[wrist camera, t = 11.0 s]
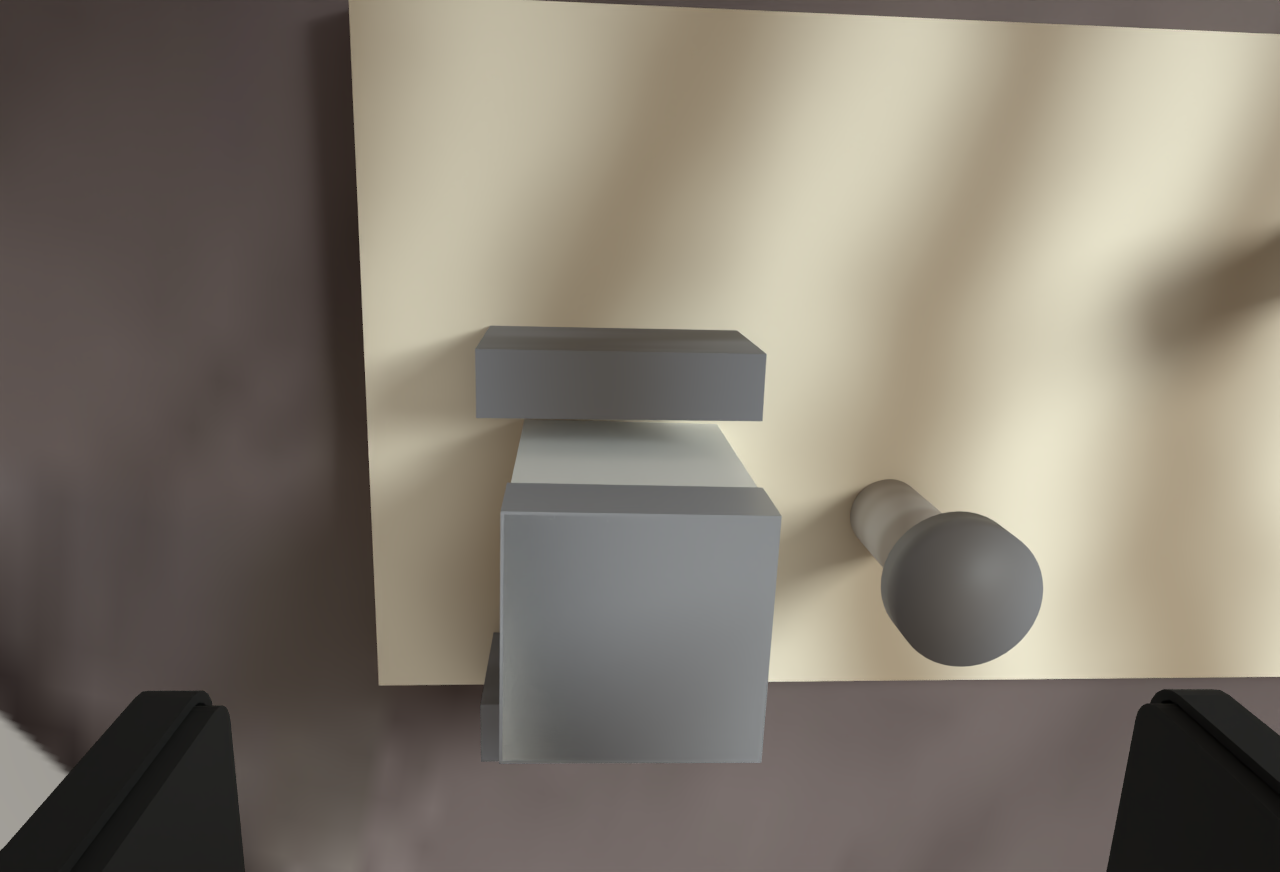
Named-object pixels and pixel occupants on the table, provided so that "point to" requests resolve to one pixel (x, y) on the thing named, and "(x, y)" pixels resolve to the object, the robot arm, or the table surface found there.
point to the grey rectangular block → (634, 596)
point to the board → (838, 320)
